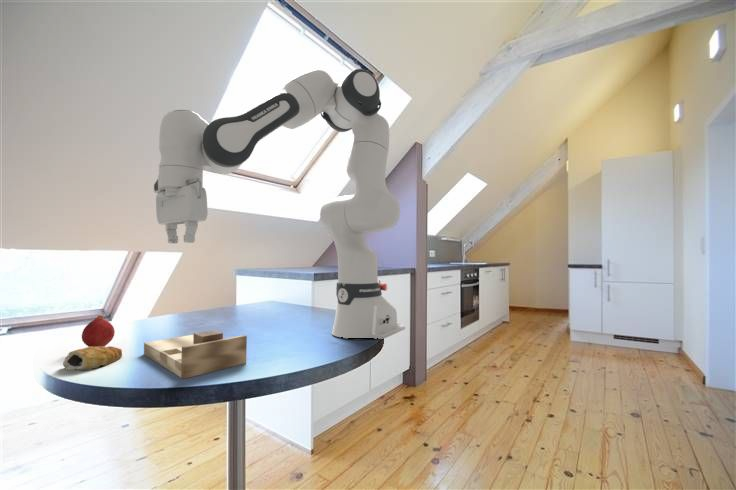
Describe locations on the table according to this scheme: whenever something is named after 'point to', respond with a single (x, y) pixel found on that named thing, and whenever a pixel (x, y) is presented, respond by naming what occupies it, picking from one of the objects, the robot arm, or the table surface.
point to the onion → (98, 332)
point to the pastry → (91, 357)
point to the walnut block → (207, 336)
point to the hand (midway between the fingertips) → (180, 243)
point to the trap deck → (197, 354)
